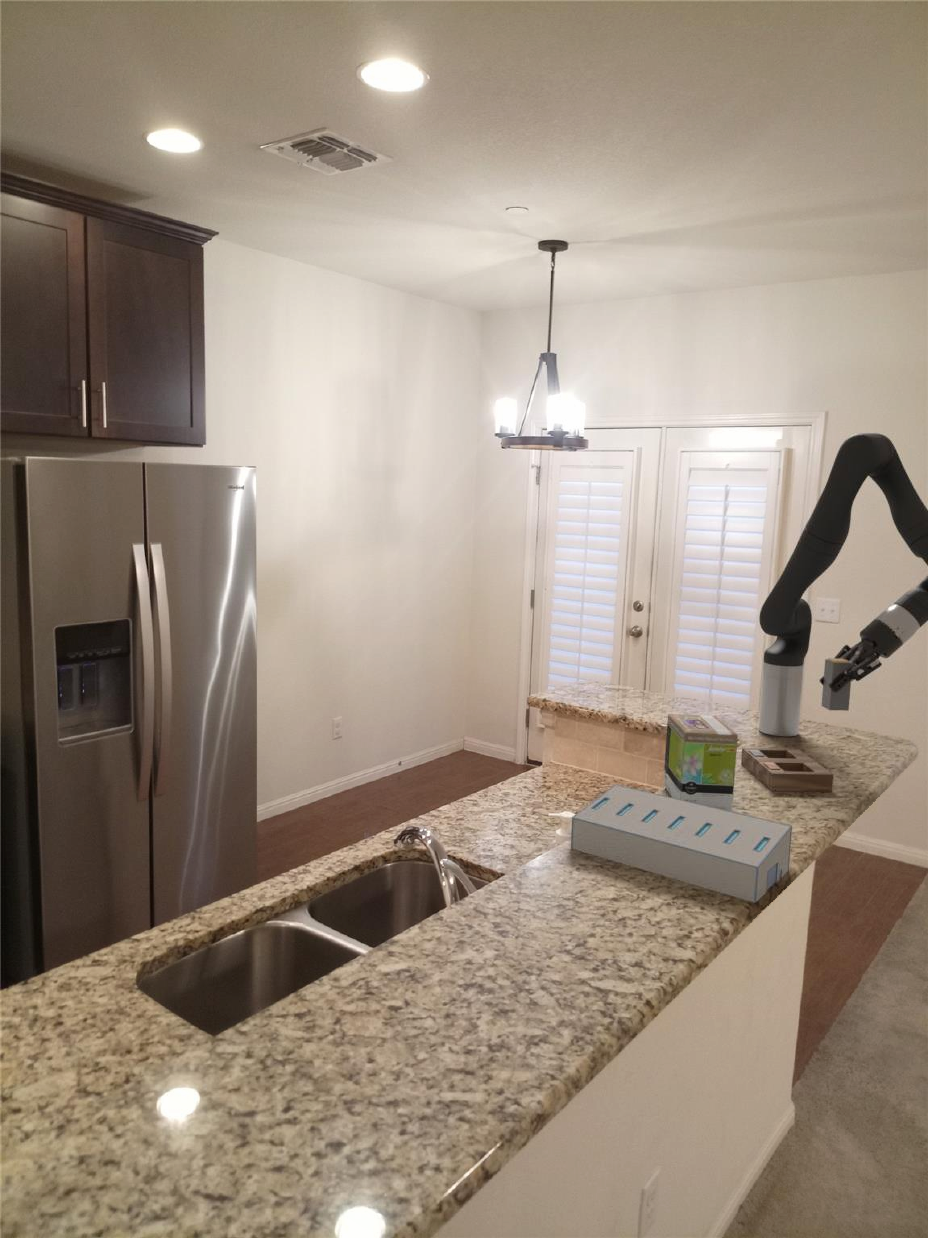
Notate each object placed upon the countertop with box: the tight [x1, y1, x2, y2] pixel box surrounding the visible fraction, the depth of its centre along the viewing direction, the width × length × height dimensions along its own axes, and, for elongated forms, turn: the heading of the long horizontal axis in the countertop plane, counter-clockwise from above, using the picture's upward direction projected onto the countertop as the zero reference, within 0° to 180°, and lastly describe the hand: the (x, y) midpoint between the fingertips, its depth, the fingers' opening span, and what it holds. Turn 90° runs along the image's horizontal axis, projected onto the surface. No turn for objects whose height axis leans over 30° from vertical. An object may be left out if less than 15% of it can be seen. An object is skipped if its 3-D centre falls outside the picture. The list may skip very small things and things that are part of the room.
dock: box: [740, 747, 834, 793], centre depth 183 cm, size 18×12×4 cm, turn 1°
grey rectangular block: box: [821, 657, 852, 711], centre depth 187 cm, size 4×4×10 cm
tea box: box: [663, 713, 739, 811], centre depth 168 cm, size 15×10×15 cm
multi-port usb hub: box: [570, 784, 793, 904], centre depth 139 cm, size 30×14×8 cm, turn 52°
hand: (827, 686), depth 187 cm, fingers closed on grey rectangular block, 4 cm apart
